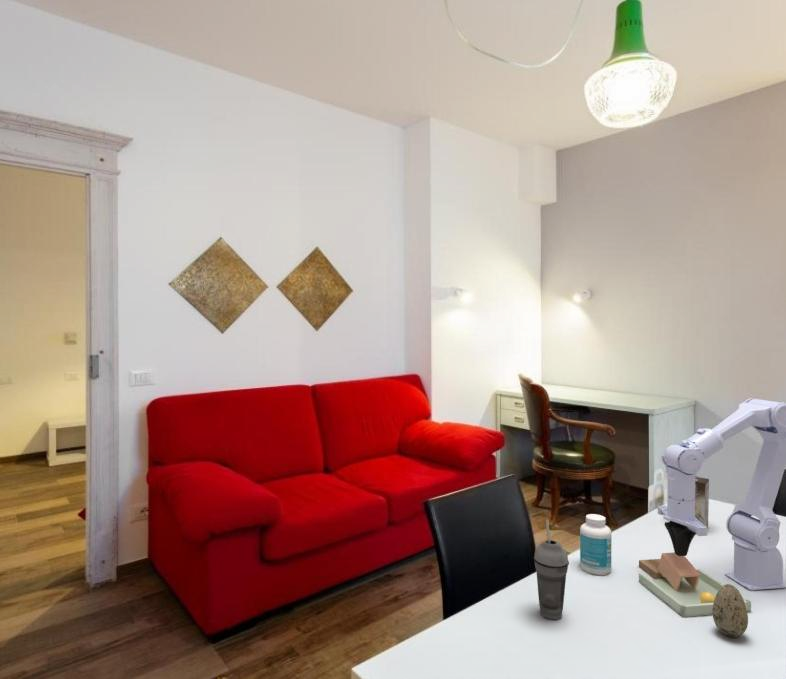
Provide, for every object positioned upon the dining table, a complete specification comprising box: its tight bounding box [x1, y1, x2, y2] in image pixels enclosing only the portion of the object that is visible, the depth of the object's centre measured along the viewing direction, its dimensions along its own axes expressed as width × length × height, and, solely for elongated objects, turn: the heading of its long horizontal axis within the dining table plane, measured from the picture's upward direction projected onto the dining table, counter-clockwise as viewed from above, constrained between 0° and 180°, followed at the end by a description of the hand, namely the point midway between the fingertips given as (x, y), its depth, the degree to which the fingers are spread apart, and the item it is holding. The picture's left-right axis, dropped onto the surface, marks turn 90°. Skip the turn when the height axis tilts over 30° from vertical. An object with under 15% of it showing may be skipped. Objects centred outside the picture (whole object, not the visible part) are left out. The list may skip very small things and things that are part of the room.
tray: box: [638, 568, 752, 618], centre depth 118 cm, size 16×16×2 cm
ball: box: [700, 592, 715, 603], centre depth 113 cm, size 3×3×3 cm
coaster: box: [638, 558, 684, 580], centre depth 129 cm, size 7×7×2 cm
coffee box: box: [695, 476, 710, 529], centre depth 157 cm, size 9×6×16 cm
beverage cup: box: [533, 518, 570, 620], centre depth 111 cm, size 7×7×20 cm
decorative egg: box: [712, 583, 749, 638], centre depth 103 cm, size 6×6×10 cm
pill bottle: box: [579, 513, 612, 576], centre depth 131 cm, size 8×7×14 cm
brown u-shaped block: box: [658, 552, 700, 591], centre depth 122 cm, size 5×5×7 cm
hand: (680, 554), depth 121 cm, fingers closed
